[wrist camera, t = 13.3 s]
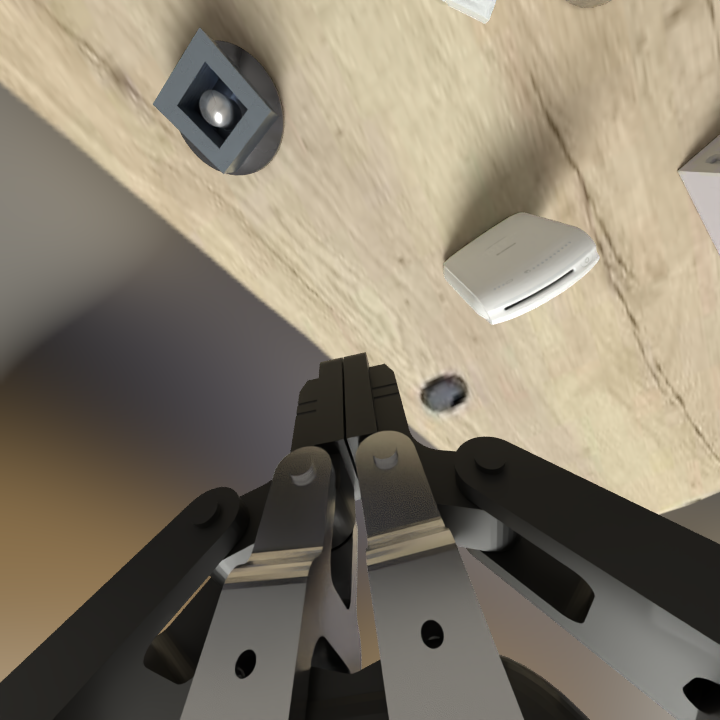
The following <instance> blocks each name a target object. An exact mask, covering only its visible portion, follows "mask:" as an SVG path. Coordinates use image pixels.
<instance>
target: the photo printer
mask: <svg viewBox="0 0 720 720" xmlns="http://www.w3.org/2000/svg"><path fill="white" fill-rule="evenodd" d="M598 260H599V255H598V253H597V251H596V244H595V243H594V241H593V240H592V239H591V237H590V236H589V235H588V234H586V233H585V232H584V231H583V230H581V229H580V228H578V227H575V226H571V225H568V224H564V223H561V222H557V221H554V220H550V219H547V218H543V217H539V216H536V215H532V214H528V213H524V212H519V213H517V214H514V215H512V216H510V217H508V218H507V219H505V220H503V221H502V222H500V223H499V224H497V225H496V226H494V227H493V228H491V229H489V230H488V231H486V232H485V233H483V234H482V235H480V236H479V237H478V238H476V239H475V240H473V241H472V242H470V243H469V244H468V245H466V246H465V247H463V248H462V249H461V250H459V251H458V252H456V253H455V254H454V255H452V256H451V257H450V258H449V259H448V260H446V261H445V263H444V264H443V265H444V268H443V274H444V277H445V279H446V281H447V282H448V283H449V284H450V285H451V286H452V287H453V288H454V289H455V290H456V291H457V293H458V294H459V295H460V296H461V297H462V298H463V299H464V300H465V301H466V302H467V303H468V304H469V305H470V306H471V307H472V308H473V309H474V311H475V312H476V313H477V314H478V315H480V316H481V317H483V318H485V319H486V320H487V321H488V322H489V323H490V324H492V325H493V324H497V323H501V322H504V321H507V320H510V319H513V318H515V317H517V316H520V315H522V314H524V313H526V312H528V311H530V310H532V309H535V308H537V307H539V306H540V305H542V304H544V303H546V302H548V301H549V300H550V299H552V298H554V297H555V296H557V295H559V294H560V293H562V292H563V291H565V290H566V289H568V288H569V287H570V286H572V285H573V284H574V283H576V282H577V281H578V280H579V279H581V278H582V277H583V276H584V275H585V274H586V273H588V272H589V271H590V270H591V269H592V268H593V266H594V265H595V264H596V263H597V262H598Z"/></svg>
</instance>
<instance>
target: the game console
mask: <svg viewBox="0 0 720 720" xmlns="http://www.w3.org/2000/svg"><path fill="white" fill-rule="evenodd" d="M678 173H679V175H680V177H681V179H682V181H683V183H684V185H685V187H686V189H687V191H688V193H689V195H690V197H691V199H692V201H693V203H694V205H695V207H696V209H697V211H698V213H699V215H700V217H701V219H702V221H703V223H704V225H705V227H706V229H707V231H708V233H709V235H710V237H711V239H712V241H713V243H714V245H715V247H716V249H717V251H718V253H719V255H720V135H718V136H717V137H716V138H715V139H714V140H713V141H712V142H710V143H709V144H708V145H707V146H706V147H705V148H704V149H702V150H701V151H700V152H699V153H698V154H697V155H695V156H694V157H693V158H692V159H691V160H690V161H689V162H687V163H686V164H685V165H684V166H683V167H682V168H680V169H679V170H678Z"/></svg>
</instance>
